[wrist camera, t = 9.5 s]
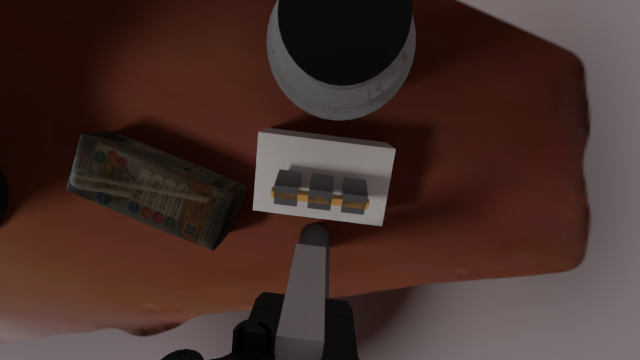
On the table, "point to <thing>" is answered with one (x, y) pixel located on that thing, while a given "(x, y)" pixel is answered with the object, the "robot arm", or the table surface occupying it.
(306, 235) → the post
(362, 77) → the thermos bottle
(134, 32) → the table surface
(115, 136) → the beverage carton
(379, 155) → the breaker box
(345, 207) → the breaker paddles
